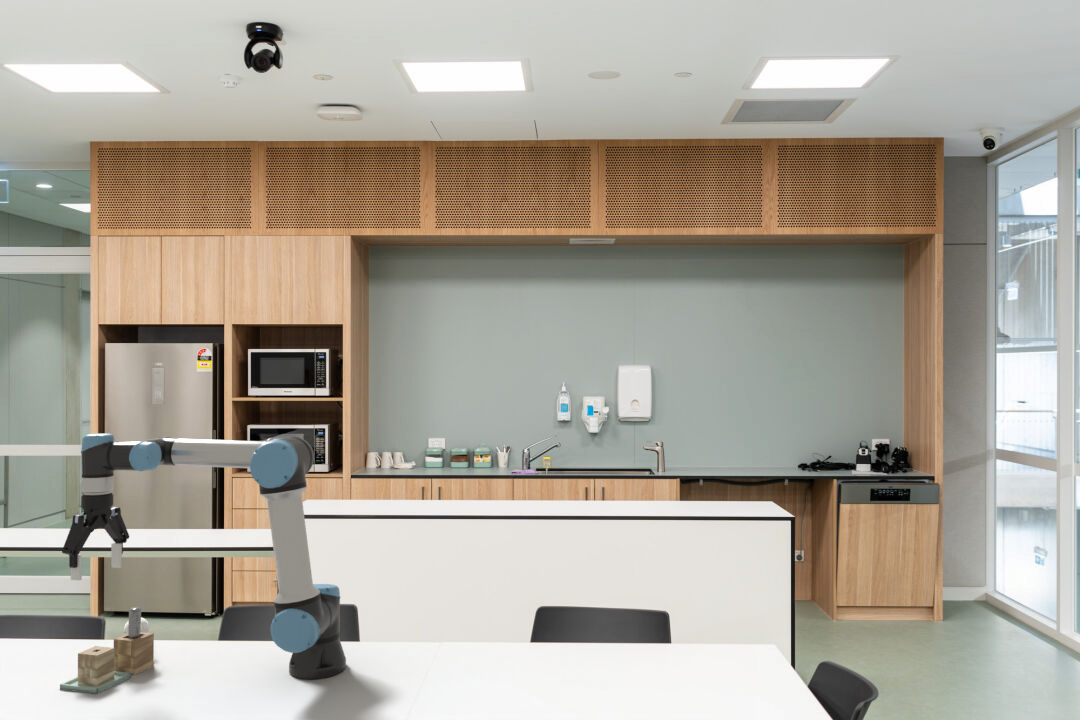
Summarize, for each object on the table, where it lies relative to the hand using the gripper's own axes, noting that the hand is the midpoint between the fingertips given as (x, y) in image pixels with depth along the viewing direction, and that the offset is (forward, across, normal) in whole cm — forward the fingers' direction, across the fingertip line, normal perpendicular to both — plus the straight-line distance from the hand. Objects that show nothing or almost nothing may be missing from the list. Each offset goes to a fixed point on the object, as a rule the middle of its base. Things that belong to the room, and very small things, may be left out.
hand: (96, 573), depth 217 cm
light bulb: (+29, -20, -5) cm, 36 cm away
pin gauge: (+27, -11, +2) cm, 29 cm away
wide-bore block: (+29, -11, +2) cm, 31 cm away
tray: (+29, 0, 0) cm, 29 cm away
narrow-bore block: (+28, 0, 0) cm, 28 cm away
